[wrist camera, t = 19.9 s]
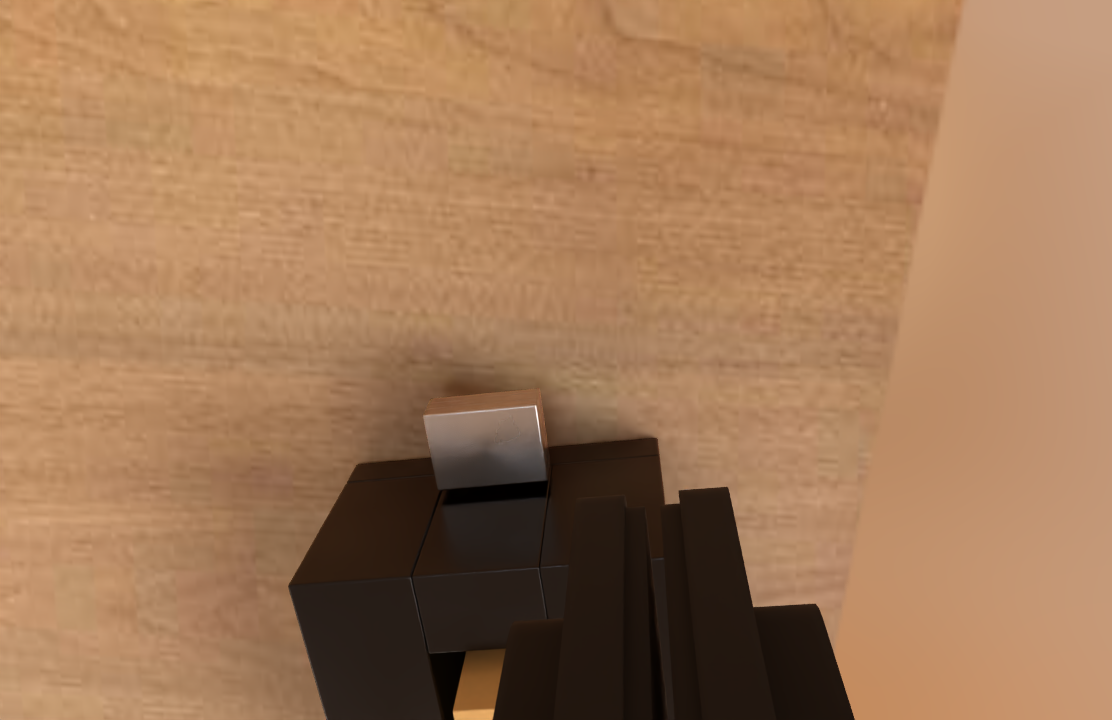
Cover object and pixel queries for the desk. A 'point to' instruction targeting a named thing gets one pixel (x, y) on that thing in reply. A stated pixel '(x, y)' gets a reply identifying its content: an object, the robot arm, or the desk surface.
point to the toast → (479, 685)
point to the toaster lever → (487, 439)
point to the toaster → (451, 574)
